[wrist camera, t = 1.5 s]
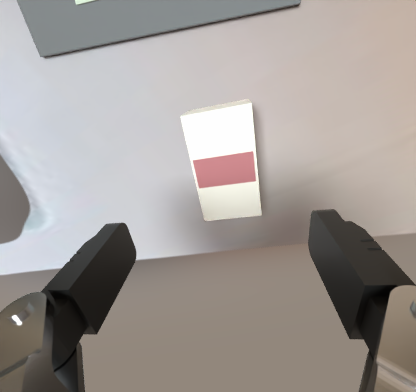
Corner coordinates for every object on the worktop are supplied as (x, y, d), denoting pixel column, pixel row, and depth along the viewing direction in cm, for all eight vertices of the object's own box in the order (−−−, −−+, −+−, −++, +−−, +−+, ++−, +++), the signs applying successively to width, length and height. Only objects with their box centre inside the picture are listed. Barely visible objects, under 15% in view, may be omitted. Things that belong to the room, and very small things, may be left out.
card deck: (247, 98, 18) (251, 102, 14) (256, 194, 22) (261, 216, 18) (190, 110, 19) (179, 116, 15) (208, 199, 23) (204, 221, 19)
